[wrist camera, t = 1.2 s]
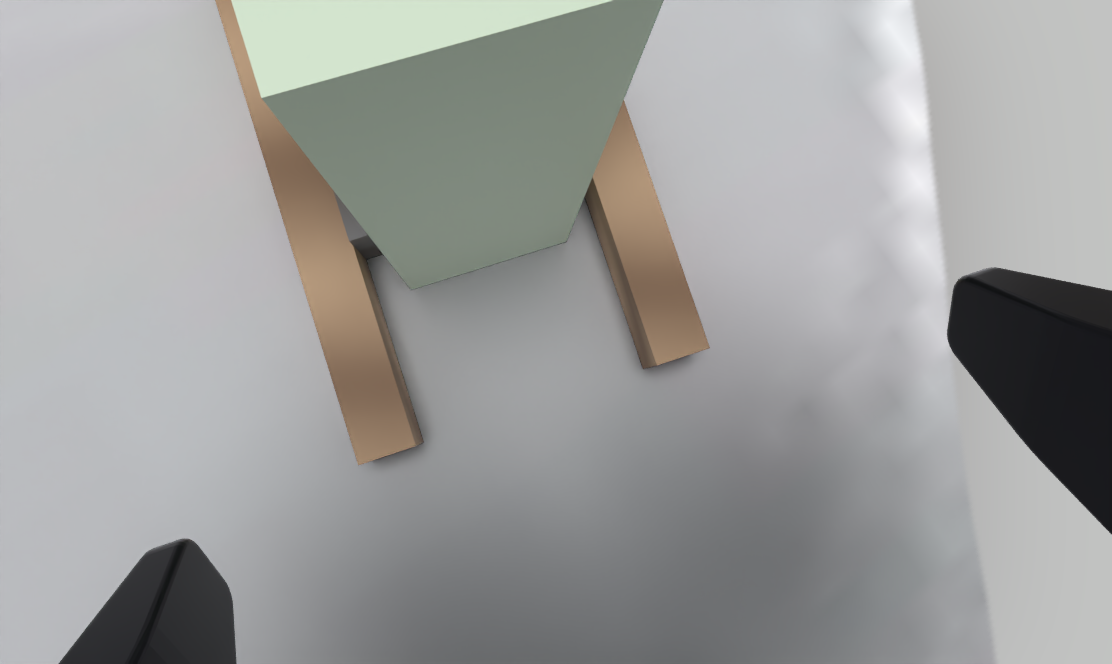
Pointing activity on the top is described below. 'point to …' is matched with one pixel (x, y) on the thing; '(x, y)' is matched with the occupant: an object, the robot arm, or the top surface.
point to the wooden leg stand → (343, 246)
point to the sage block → (450, 114)
